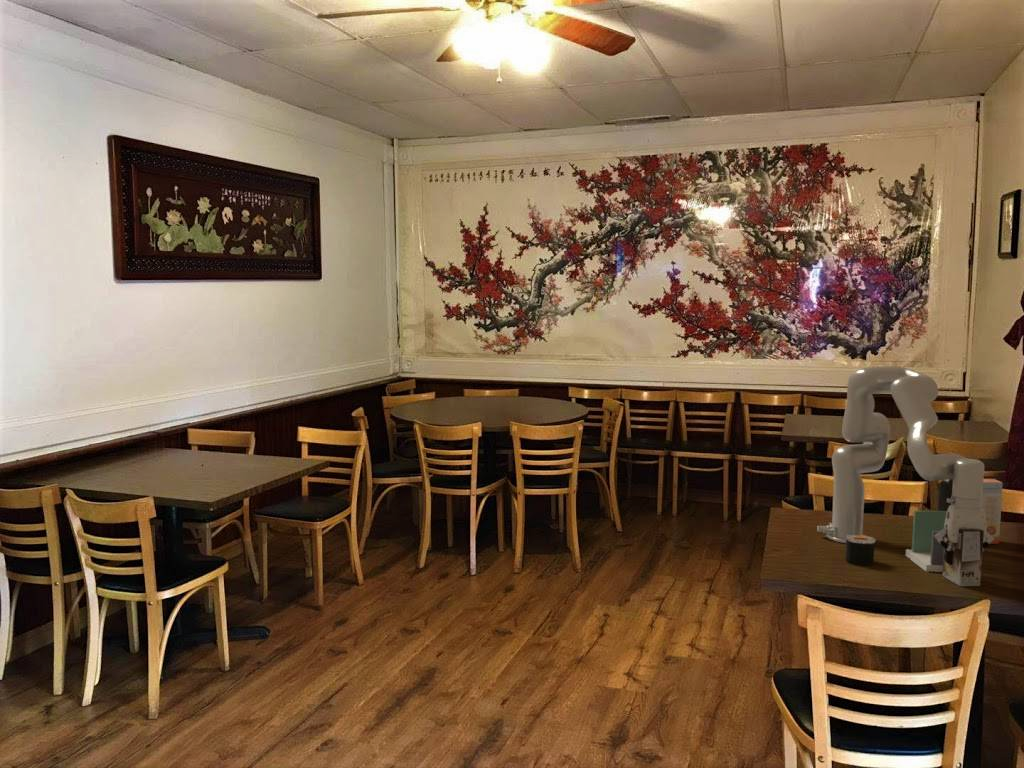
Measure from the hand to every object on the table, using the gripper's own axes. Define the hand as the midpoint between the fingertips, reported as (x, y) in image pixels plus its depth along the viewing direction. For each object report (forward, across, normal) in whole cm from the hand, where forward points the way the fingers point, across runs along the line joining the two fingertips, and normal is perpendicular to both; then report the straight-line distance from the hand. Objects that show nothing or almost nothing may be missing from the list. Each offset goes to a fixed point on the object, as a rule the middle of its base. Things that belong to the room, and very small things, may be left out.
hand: (962, 563), depth 241 cm
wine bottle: (+6, +11, +34) cm, 36 cm away
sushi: (+6, -23, +16) cm, 28 cm away
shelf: (+5, 0, +15) cm, 16 cm away
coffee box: (+6, 0, 0) cm, 6 cm away
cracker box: (+6, +22, +40) cm, 46 cm away
